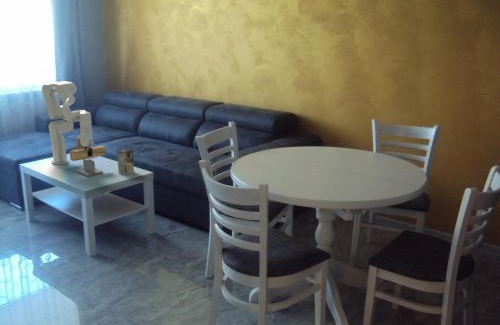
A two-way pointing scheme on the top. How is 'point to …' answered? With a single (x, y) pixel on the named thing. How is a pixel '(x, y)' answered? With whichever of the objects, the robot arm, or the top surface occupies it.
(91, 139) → the robot arm
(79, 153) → the oak batten
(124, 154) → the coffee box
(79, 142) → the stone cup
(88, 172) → the ridge stand
